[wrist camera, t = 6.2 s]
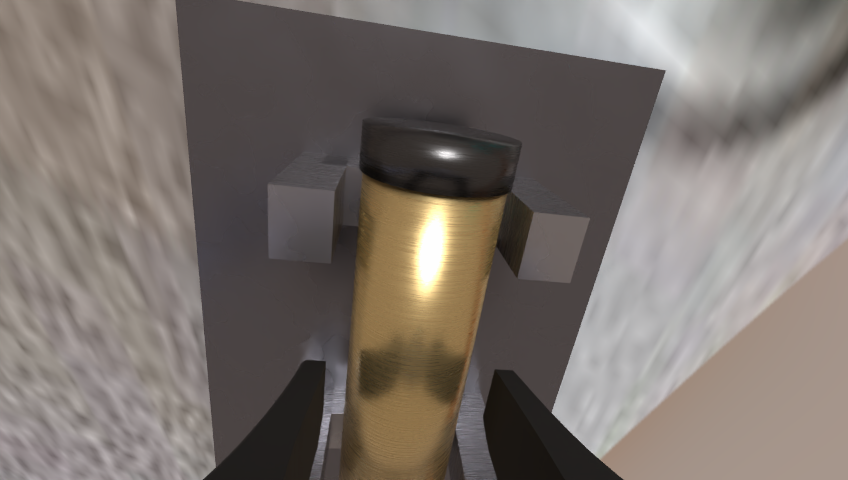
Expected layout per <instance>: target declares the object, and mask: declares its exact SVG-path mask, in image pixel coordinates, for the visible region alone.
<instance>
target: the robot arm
mask: <svg viewBox="0 0 848 480" xmlns="http://www.w3.org/2000/svg"><path fill="white" fill-rule="evenodd" d="M325 370H326V361H317V360H305V361H303V362H302V363H301V365H300V367H299V368H298V370H297V372H296V373H295V375H294V376H293V378H292V379H291V381H290V382H289V384H288V385H287V387H286V388H285V389H284V391H283V392H282V394H281V395H280V396H279V397H278V399H277V400H276V401H275V403H274V404H273V405H272V407H271V408H270V409H269V410H268V412H267V413H266V414H265V415H264V417H263V418H262V419H261V420H260V421H259V422H258V424H257V425H256V426H255V427H254V428H253V429H252V430H251V432H250V433H249V434H248V435H247V436H246V437H245V438H244V440H243V441H242V442H241V443H240V444H239V445H238V446H237V447H236V448H235V449H234V450H233V451H232V452H231V453H230V454H229V455H228V456H227V457H226V458H225V459H224V460H223V461H222V462H221V463H220V464H219V465H218V466H217V467H216V468H215V469H214V470H213V471H212V472H211V473H210V474H209V475H208V476H206V477H205V478H204V479H203V480H309V478H310V474H311V470H312V466H313V463H314V459H315V455H316V451H317V447H318V442H319V436H320V430H321V424H322V417H323V409H324V389H325ZM483 422H484V428H485V435H486V440H487V445H488V450H489V454H490V457H491V461H492V464H493V467H494V471H495V474H496V478H497V480H623V479H622V478H621V477H619V476H618V475H617V474H616V473H615V472H613V471H612V470H611V469H610V468H609V467H608V466H606V465H605V464H604V463H603V462H602V461H600V460H599V459H598V458H597V457H596V456H595V455H594V454H593V453H591V452H590V451H589V450H588V449H587V448H586V447H585V446H584V445H583V444H582V443H581V442H580V441H579V440H578V439H577V438H576V437H575V436H573V435H572V434H571V433H570V432H569V431H568V430H567V429H566V428H565V427H564V426H563V425H562V424H561V422H560V421H559V420H558V419H557V418H556V417H555V416H554V415H553V414H552V413H551V412H550V411H549V410H548V409H547V408H546V406H545V405H544V404H543V403H542V402H541V401H540V400H539V399H538V398H537V397H536V395H535V394H534V393H533V392H532V391H531V390H530V389H529V388H528V386H527V385H526V384H525V383H524V382H523V381H522V380H521V379H520V377H519V376H518V375H517V374H516V373H515V372H514V371H513V370H499V369H495V370H494V374H493V378H492V382H491V386H490V390H489V394H488V398H487V402H486V406H485V410H484V414H483Z"/></svg>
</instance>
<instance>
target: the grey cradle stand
mask: <svg viewBox="0 0 848 480" xmlns="http://www.w3.org/2000/svg"><path fill="white" fill-rule="evenodd" d="M176 11H177V23H178V34H179V46H180V57H181V69H182V80H183V92H184V103H185V115H186V126H187V138H188V150H189V161H190V173H191V184H192V196H193V207H194V219H195V230H196V242H197V253H198V265H199V276H200V288H201V299H202V311H203V323H204V334H205V346H206V357H207V369H208V380H209V392H210V403H211V415H212V426H213V438H214V449H215V461H216V467H217V466H218V465H219V464H220V463H221V462H222V461H223V460H224V459H225V458H226V457H227V456H228V455H229V454H230V453H231V452H232V451H233V450H234V449H235V448H236V447H237V446H238V445H239V444H240V443H241V442H242V441H243V440H244V438H245V437H246V436H247V435H248V434H249V433H250V432H251V430H252V429H253V428H254V427H255V426H256V425H257V424H258V422H259V421H260V420H261V419H262V418H263V417H264V415H265V414H266V413H267V412H268V410H269V409H270V408H271V407H272V405H273V404H274V403H275V401H276V400H277V399H278V397H279V396H280V395H281V394H282V392H283V391H284V389H285V388H286V387H287V385H288V384H289V382H290V381H291V379H292V378H293V376H294V375H295V373H296V372H297V370H298V368H299V367H300V365H301V363H302V362H303V361H305V360H317V361H326V370H325V389H324V409H323V417H322V424H321V430H320V436H319V442H318V447H317V451H316V455H315V459H314V463H313V466H312V470H311V474H310V478H309V480H339V470H340V457H341V444H342V431H343V418H344V405H345V392H346V379H347V366H348V353H349V340H350V327H351V314H352V301H353V288H354V275H355V262H356V249H357V236H358V223H359V210H360V197H361V184H362V172H361V170H360V169H359V160H360V147H361V133H362V120H363V119H365V118H400V119H411V120H421V121H429V122H437V123H444V124H450V125H457V126H463V127H468V128H474V129H479V130H484V131H488V132H493V133H497V134H501V135H505V136H508V137H511V138H514V139H517V140H519V141H521V142H522V148H521V152H520V157H519V161H518V166H517V170H516V175H515V179H514V184H513V188H512V191H511V192H510V193H508V194H507V198H506V202H505V207H504V211H503V216H502V220H501V225H500V229H499V234H498V239H497V243H496V248H495V252H494V257H493V261H492V266H491V270H490V275H489V279H488V284H487V289H486V293H485V298H484V302H483V307H482V311H481V316H480V320H479V325H478V329H477V334H476V339H475V343H474V348H473V352H472V357H471V361H470V366H469V370H468V375H467V379H466V384H465V389H464V393H463V398H462V402H461V407H460V411H459V416H458V420H457V425H456V430H455V434H454V439H453V443H452V448H451V452H450V457H449V461H448V466H447V470H446V475H445V480H497V478H496V474H495V471H494V467H493V464H492V461H491V457H490V454H489V450H488V445H487V440H486V435H485V428H484V422H483V414H484V410H485V406H486V402H487V398H488V394H489V390H490V386H491V382H492V378H493V374H494V370H495V369H499V370H513V371H514V372H515V373H516V374H517V375H518V376H519V377H520V379H521V380H522V381H523V382H524V383H525V384H526V385H527V386H528V388H529V389H530V390H531V391H532V392H533V393H534V394H535V395H536V397H537V398H538V399H539V400H540V401H541V402H542V403H543V404H544V405H545V406H546V408H547V409H548V410H549V411H550V412H552V409H553V406H554V403H555V400H556V397H557V394H558V391H559V388H560V385H561V382H562V379H563V376H564V373H565V370H566V367H567V364H568V361H569V358H570V355H571V352H572V349H573V346H574V343H575V340H576V337H577V334H578V331H579V328H580V325H581V322H582V319H583V316H584V313H585V310H586V307H587V304H588V301H589V298H590V295H591V292H592V289H593V286H594V283H595V280H596V277H597V274H598V271H599V268H600V265H601V262H602V259H603V256H604V253H605V250H606V247H607V244H608V241H609V238H610V235H611V232H612V229H613V226H614V223H615V220H616V218H617V215H618V212H619V209H620V206H621V203H622V200H623V197H624V194H625V191H626V188H627V185H628V182H629V179H630V176H631V173H632V170H633V167H634V164H635V161H636V158H637V155H638V152H639V149H640V146H641V143H642V140H643V137H644V134H645V131H646V128H647V125H648V122H649V119H650V116H651V113H652V110H653V107H654V104H655V101H656V98H657V95H658V92H659V89H660V86H661V83H662V80H663V77H664V74H665V70H659V69H653V68H647V67H641V66H635V65H628V64H622V63H616V62H610V61H604V60H598V59H592V58H586V57H579V56H573V55H567V54H561V53H555V52H549V51H543V50H537V49H531V48H524V47H518V46H512V45H506V44H500V43H494V42H488V41H482V40H475V39H469V38H463V37H457V36H451V35H445V34H439V33H433V32H426V31H420V30H414V29H408V28H402V27H396V26H390V25H384V24H378V23H371V22H365V21H359V20H353V19H347V18H341V17H335V16H329V15H322V14H316V13H310V12H304V11H298V10H292V9H286V8H280V7H273V6H267V5H261V4H255V3H249V2H243V1H237V0H176Z"/></svg>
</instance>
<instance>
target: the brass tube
mask: <svg viewBox="0 0 848 480" xmlns="http://www.w3.org/2000/svg"><path fill="white" fill-rule="evenodd" d="M521 148H522V142H521V141H519V140H517V139H514V138H511V137H508V136H505V135H501V134H497V133H493V132H488V131H484V130H479V129H474V128H468V127H463V126H457V125H450V124H444V123H437V122H429V121H421V120H411V119H400V118H365V119H363V120H362V133H361V147H360V160H359V169H360V170H361V172H362V184H361V197H360V210H359V223H358V236H357V249H356V262H355V275H354V288H353V301H352V314H351V327H350V340H349V353H348V366H347V379H346V392H345V405H344V418H343V431H342V444H341V457H340V470H339V480H445V475H446V470H447V466H448V461H449V457H450V452H451V448H452V443H453V439H454V434H455V430H456V425H457V420H458V416H459V411H460V407H461V402H462V398H463V393H464V389H465V384H466V379H467V375H468V370H469V366H470V361H471V357H472V352H473V348H474V343H475V339H476V334H477V329H478V325H479V320H480V316H481V311H482V307H483V302H484V298H485V293H486V289H487V284H488V279H489V275H490V270H491V266H492V261H493V257H494V252H495V248H496V243H497V239H498V234H499V229H500V225H501V220H502V216H503V211H504V207H505V202H506V198H507V194H508V193H510V192H511V191H512V188H513V184H514V179H515V175H516V170H517V166H518V161H519V157H520V152H521Z"/></svg>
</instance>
